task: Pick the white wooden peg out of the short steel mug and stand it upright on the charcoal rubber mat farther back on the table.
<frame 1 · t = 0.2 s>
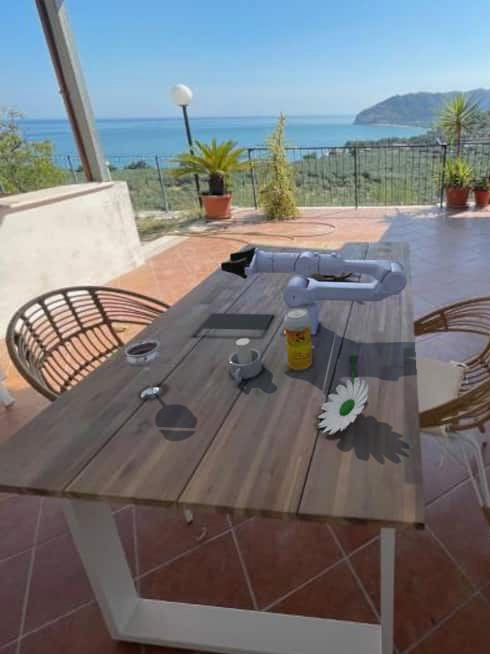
hand: (226, 261, 110), 21 cm above the table, tool horizontal, fingers open, 7 cm apart
wineglass: (153, 393, 90), on the table
steel mug: (246, 371, 97), on the table
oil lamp: (325, 281, 152), on the table
flower: (352, 395, 88), on the table
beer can: (300, 366, 99), on the table
rubber mat: (235, 325, 119), on the table
white peg: (246, 369, 97), resting on steel mug
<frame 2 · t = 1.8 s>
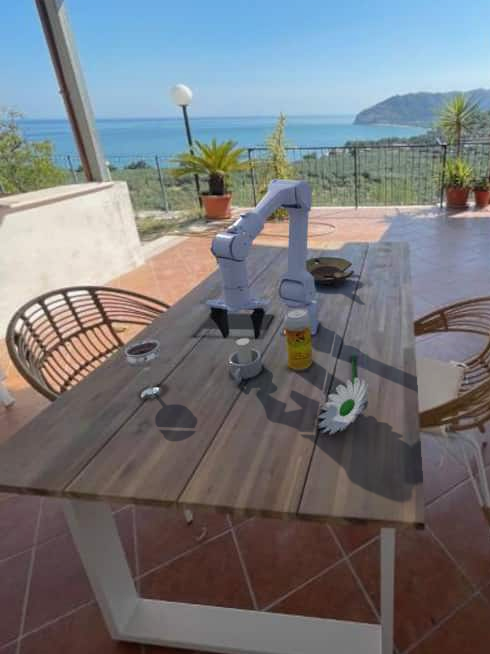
hand: (242, 336, 93), 10 cm above the table, tool pointing down, fingers open, 7 cm apart
nothing on the table moved.
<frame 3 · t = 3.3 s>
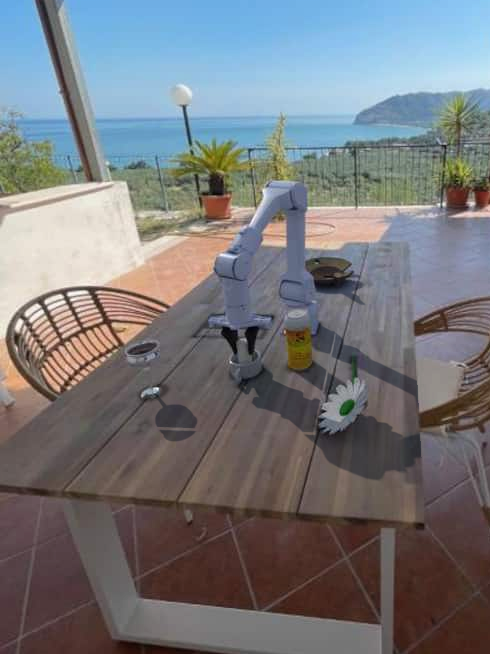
hand: (244, 352, 95), 5 cm above the table, tool pointing down, fingers closed on white peg, 3 cm apart
white peg: (246, 369, 97), point 1 cm above the table, touching gripper, steel mug
everything else where it was.
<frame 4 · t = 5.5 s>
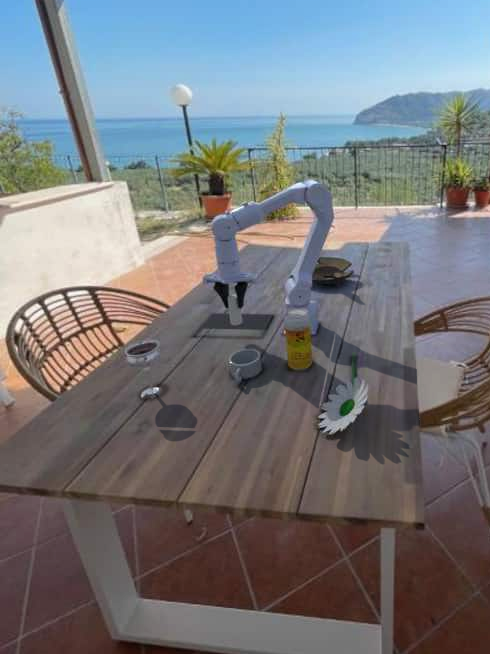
hand: (234, 306, 108), 10 cm above the table, tool pointing down, fingers closed on white peg, 3 cm apart
white peg: (236, 322, 109), point 5 cm above the table, touching gripper
everything else where it was.
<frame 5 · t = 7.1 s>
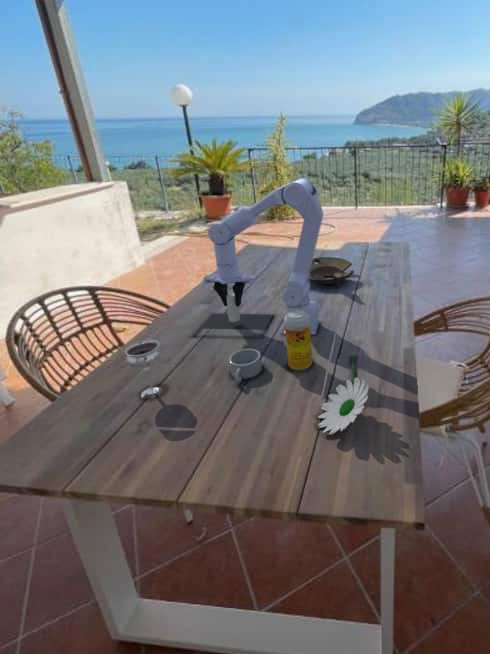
hand: (232, 305, 116), 7 cm above the table, tool pointing down, fingers closed on white peg, 3 cm apart
white peg: (234, 319, 118), point 2 cm above the table, touching gripper
everything else where it was.
when the fingers open (5 cm above the table, at t = 8.1 s): white peg stays where it is, resting on rubber mat.
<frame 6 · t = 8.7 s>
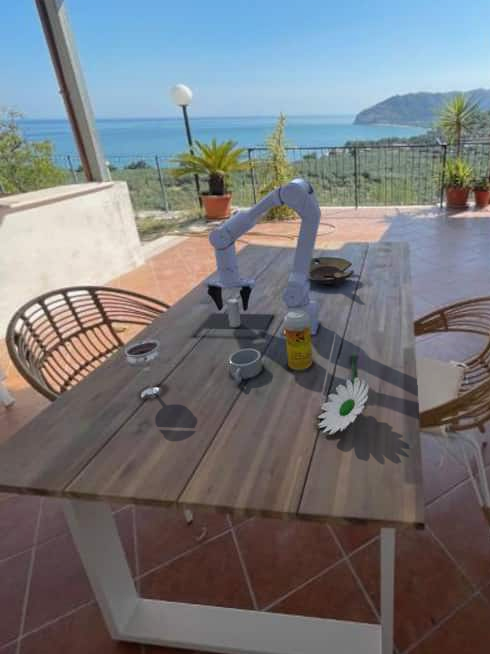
hand: (233, 309, 117), 6 cm above the table, tool pointing down, fingers open, 7 cm apart
white peg: (235, 324, 119), resting on rubber mat
everything else where it was.
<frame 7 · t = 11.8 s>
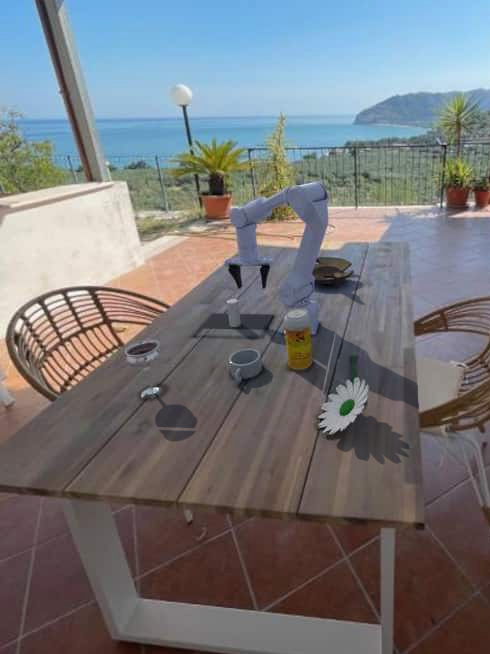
hand: (252, 287, 122), 10 cm above the table, tool pointing down, fingers open, 7 cm apart
nothing on the table moved.
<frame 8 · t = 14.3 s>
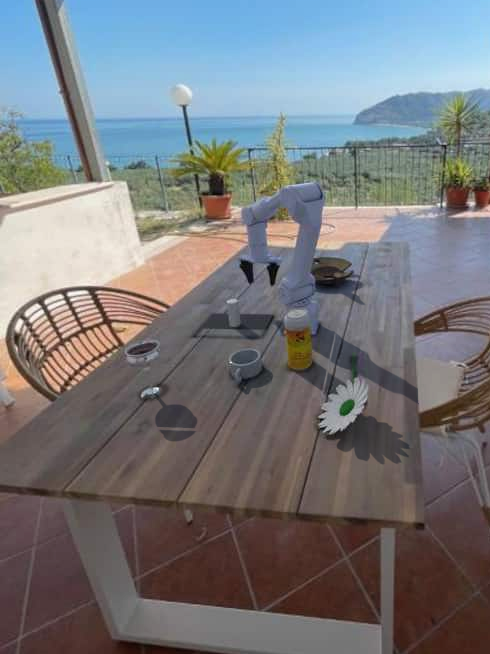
hand: (262, 283, 126), 9 cm above the table, tool pointing down, fingers open, 7 cm apart
nothing on the table moved.
at the end: white peg inside the target area on the rubber mat (0.0 cm from its centre), point 0.4 cm above the rubber mat's base; white peg tilted 0° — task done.
